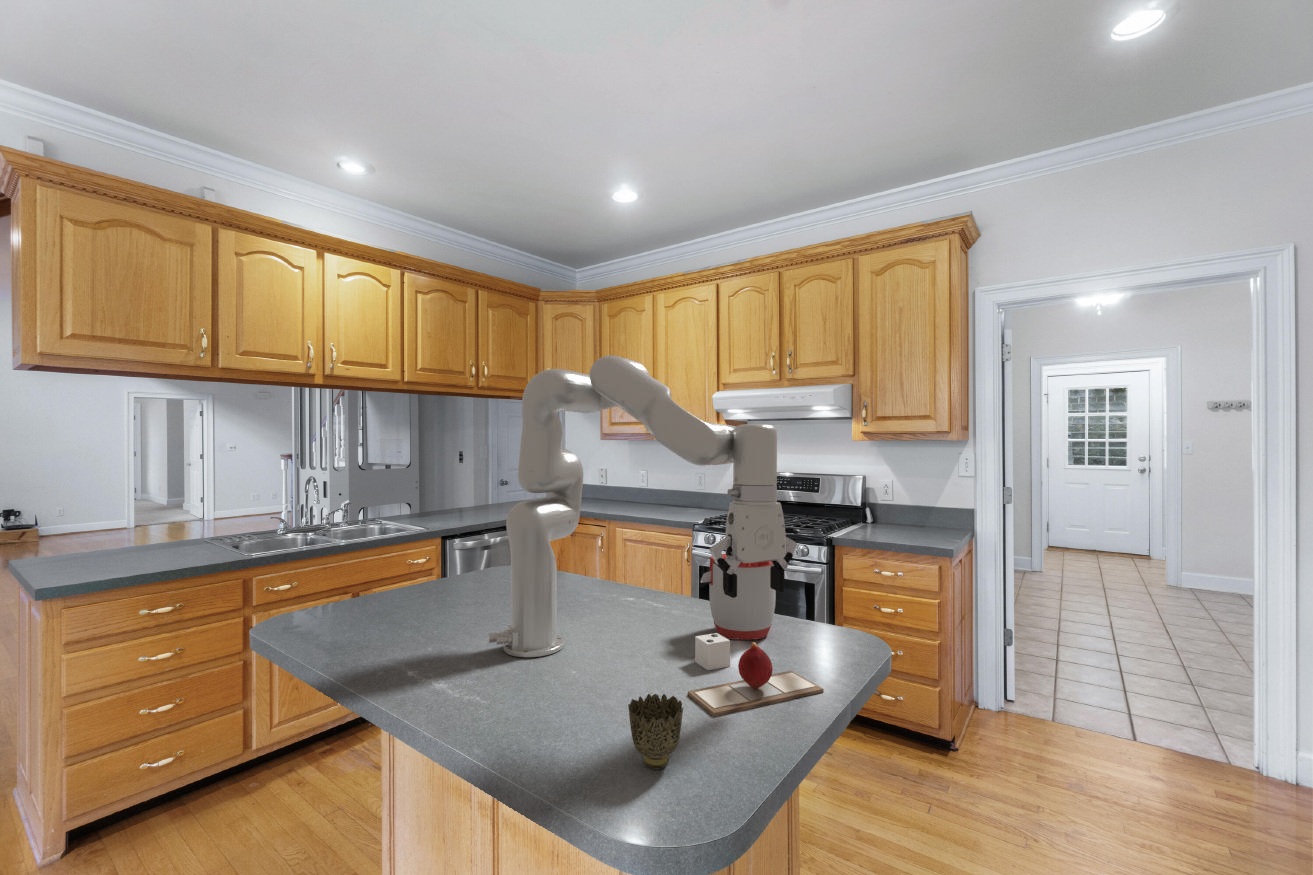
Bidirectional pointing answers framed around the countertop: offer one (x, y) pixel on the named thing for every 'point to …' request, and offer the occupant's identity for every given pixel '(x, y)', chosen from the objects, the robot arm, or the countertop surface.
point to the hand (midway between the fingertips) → (754, 592)
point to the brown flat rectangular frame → (753, 693)
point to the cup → (655, 728)
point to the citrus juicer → (742, 601)
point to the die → (712, 651)
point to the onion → (755, 667)
